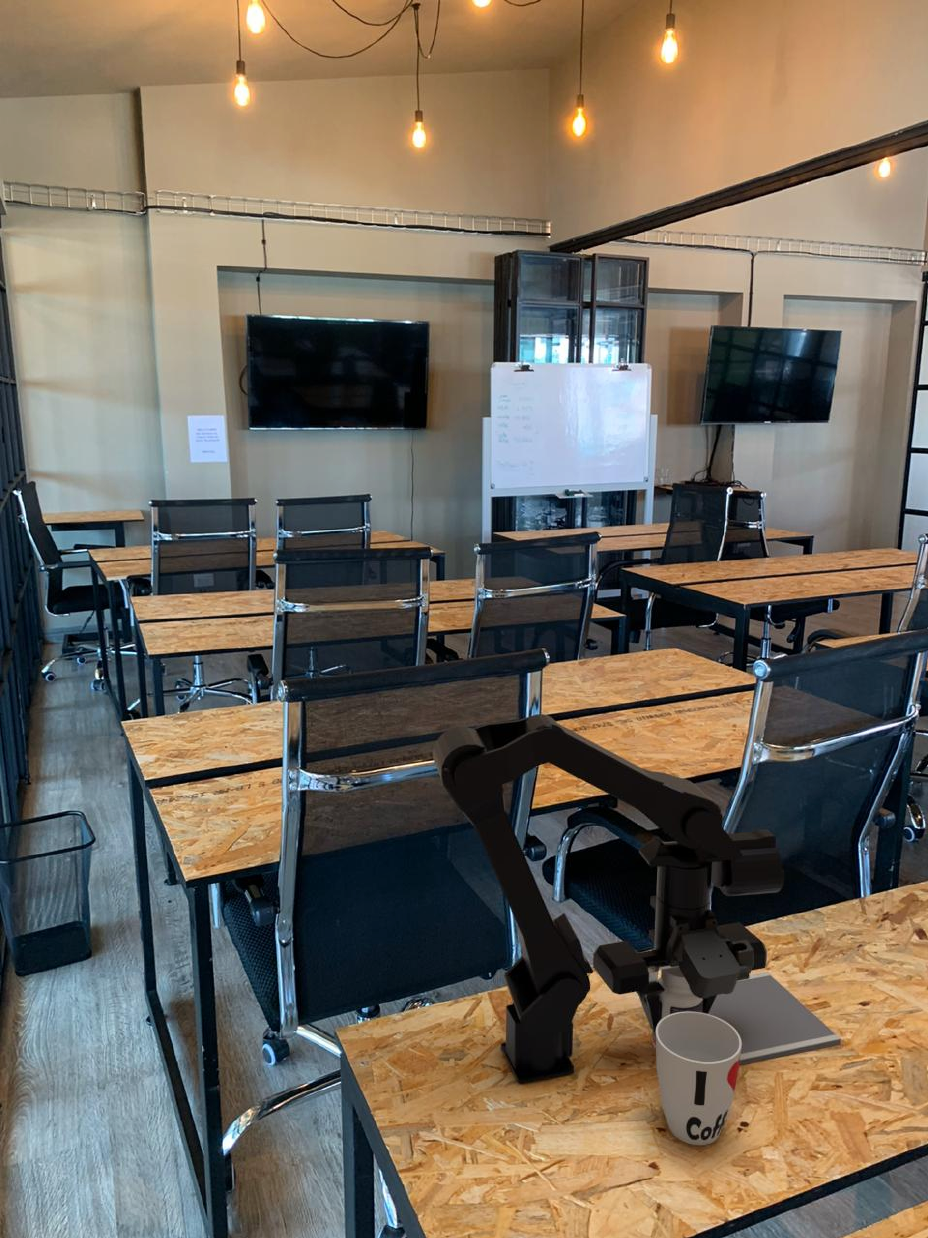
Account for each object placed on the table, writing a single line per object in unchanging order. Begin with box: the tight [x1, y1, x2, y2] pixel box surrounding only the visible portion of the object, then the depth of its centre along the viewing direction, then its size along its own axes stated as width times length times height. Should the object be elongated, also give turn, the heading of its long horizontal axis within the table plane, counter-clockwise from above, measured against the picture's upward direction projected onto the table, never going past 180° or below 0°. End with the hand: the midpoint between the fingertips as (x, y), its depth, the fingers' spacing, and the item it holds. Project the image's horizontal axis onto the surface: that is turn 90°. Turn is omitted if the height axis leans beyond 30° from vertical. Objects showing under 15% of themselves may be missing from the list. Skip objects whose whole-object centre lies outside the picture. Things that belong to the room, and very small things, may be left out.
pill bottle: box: [651, 967, 703, 1050], centre depth 103 cm, size 5×5×10 cm
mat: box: [708, 971, 842, 1067], centre depth 109 cm, size 14×14×1 cm
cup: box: [655, 1011, 742, 1146], centre depth 91 cm, size 8×8×10 cm
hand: (676, 1025), depth 104 cm, fingers closed on pill bottle, 5 cm apart
